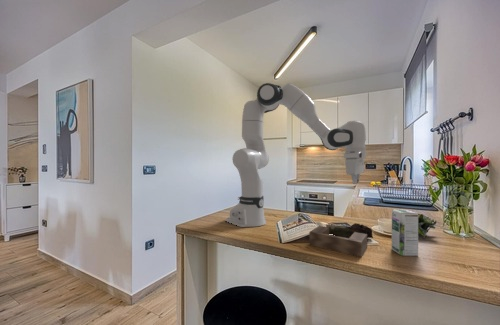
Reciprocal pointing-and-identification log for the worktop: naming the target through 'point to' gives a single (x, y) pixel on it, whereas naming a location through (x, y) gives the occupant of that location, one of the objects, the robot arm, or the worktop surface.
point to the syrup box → (405, 232)
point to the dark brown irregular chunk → (350, 230)
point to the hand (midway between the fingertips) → (355, 183)
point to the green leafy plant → (425, 224)
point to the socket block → (338, 241)
